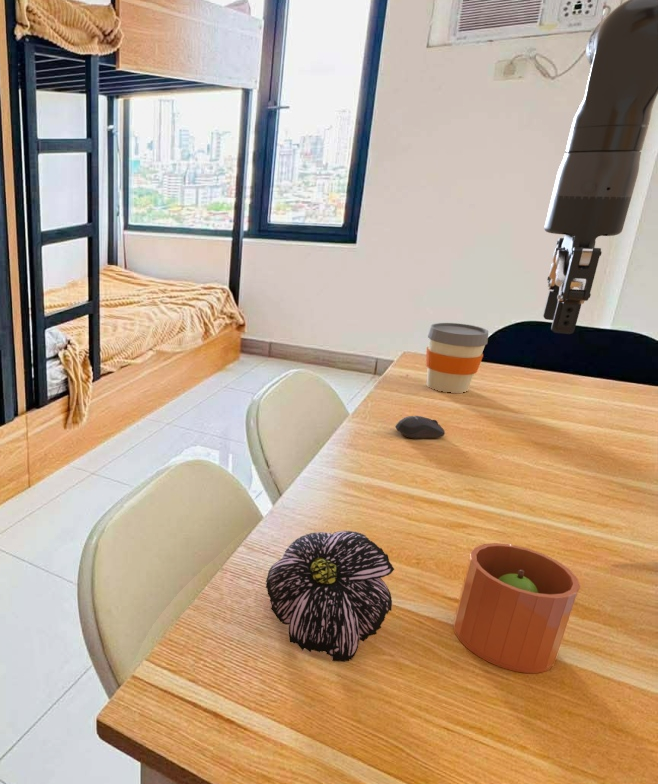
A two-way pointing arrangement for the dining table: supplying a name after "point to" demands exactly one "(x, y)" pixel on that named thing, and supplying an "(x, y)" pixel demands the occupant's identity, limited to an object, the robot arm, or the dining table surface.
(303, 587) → the decorative flower
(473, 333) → the reusable coffee cup
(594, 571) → the dining table surface
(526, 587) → the green pear
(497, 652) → the terracotta cup
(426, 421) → the computer mouse
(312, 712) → the dining table surface
